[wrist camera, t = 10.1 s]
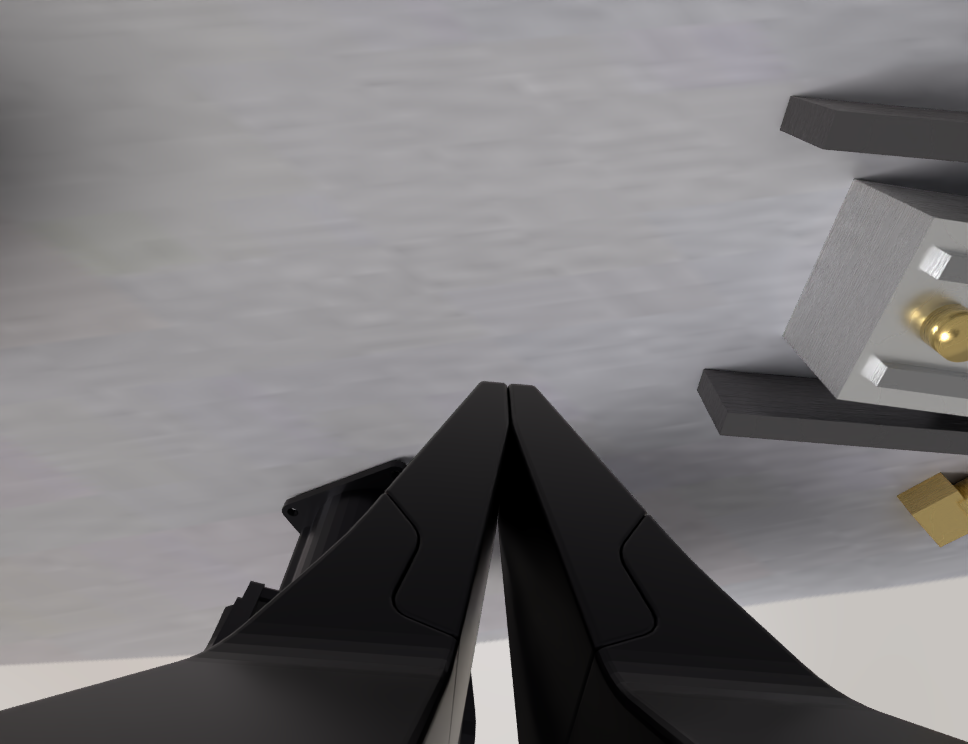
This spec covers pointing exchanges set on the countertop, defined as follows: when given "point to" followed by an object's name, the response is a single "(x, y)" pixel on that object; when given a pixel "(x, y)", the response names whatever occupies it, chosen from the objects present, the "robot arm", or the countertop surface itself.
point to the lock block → (890, 301)
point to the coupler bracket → (807, 401)
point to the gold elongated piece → (939, 507)
